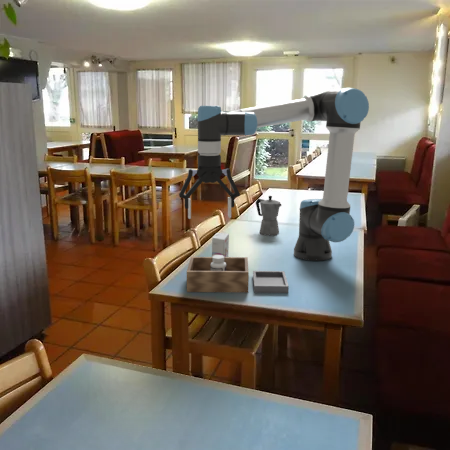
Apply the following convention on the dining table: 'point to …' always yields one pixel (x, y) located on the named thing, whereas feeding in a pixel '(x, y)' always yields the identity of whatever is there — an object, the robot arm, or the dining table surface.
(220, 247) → the ink box
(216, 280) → the caddy
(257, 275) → the tray
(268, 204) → the coffeepot
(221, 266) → the pill bottle
